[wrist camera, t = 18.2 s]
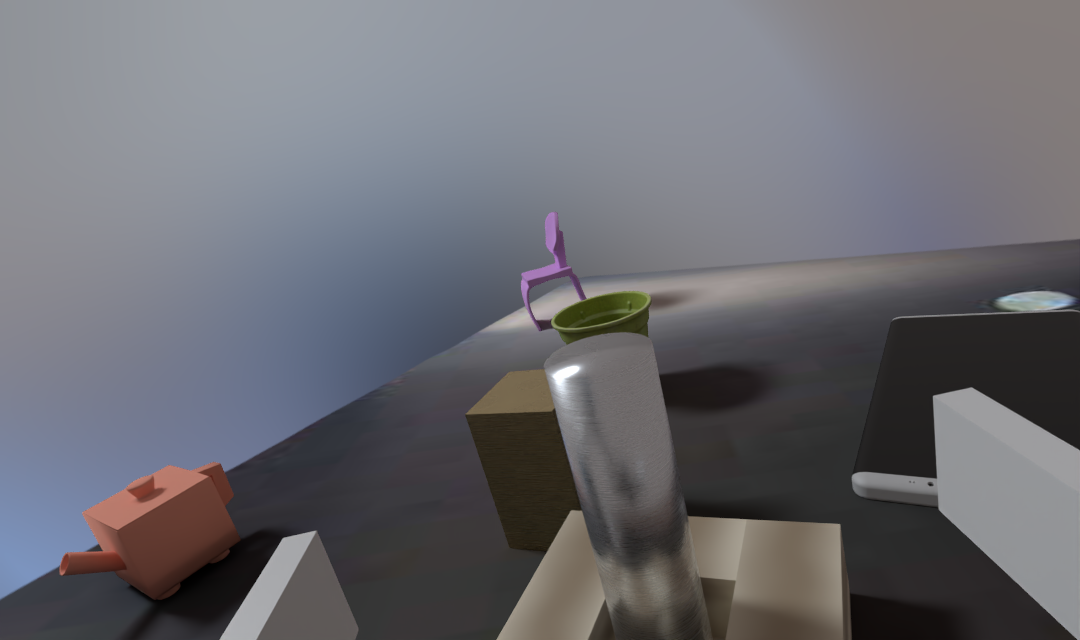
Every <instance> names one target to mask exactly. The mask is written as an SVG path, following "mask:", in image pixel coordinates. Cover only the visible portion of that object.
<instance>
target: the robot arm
mask: <svg viewBox="0 0 1080 640" xmlns="http://www.w3.org/2000/svg"><path fill="white" fill-rule="evenodd" d="M933 408H934V427H935V447H936V466H937V485H938V505H939V510H940V511H941V512H942V513H943V514H944V515H945V516H946V517H947V518H948V519H949V520H950V521H951V522H952V523H953V524H955V525H956V526H957V527H958V528H959V529H960V530H961V531H962V532H963V533H964V534H965V535H966V536H967V537H968V538H970V539H971V540H972V541H973V542H974V543H975V544H976V545H977V546H978V547H979V548H980V549H981V550H982V551H983V552H985V553H986V554H987V555H988V556H989V557H990V558H991V559H992V560H993V561H994V562H995V563H996V564H997V565H998V566H999V567H1001V568H1002V569H1003V570H1004V571H1005V572H1006V573H1007V574H1008V575H1009V576H1010V577H1011V578H1012V579H1013V580H1014V581H1016V582H1017V583H1018V584H1019V585H1020V586H1021V587H1022V588H1023V589H1024V590H1025V591H1026V592H1027V593H1028V594H1029V595H1031V596H1032V597H1033V598H1034V599H1035V600H1036V601H1037V602H1038V603H1039V604H1040V605H1041V606H1042V607H1043V608H1044V609H1046V610H1047V611H1048V612H1049V613H1050V614H1051V615H1052V616H1053V617H1054V618H1055V619H1056V620H1057V621H1058V622H1059V623H1060V624H1062V625H1063V626H1064V627H1065V628H1066V629H1067V630H1068V631H1069V632H1070V633H1071V634H1072V635H1073V636H1074V637H1075V638H1077V639H1078V640H1080V450H1078V449H1077V448H1075V447H1073V446H1071V445H1070V444H1068V443H1066V442H1065V441H1063V440H1061V439H1059V438H1058V437H1056V436H1054V435H1052V434H1051V433H1049V432H1047V431H1046V430H1044V429H1042V428H1040V427H1039V426H1037V425H1035V424H1034V423H1032V422H1030V421H1028V420H1027V419H1025V418H1023V417H1022V416H1020V415H1018V414H1016V413H1015V412H1013V411H1011V410H1010V409H1008V408H1006V407H1004V406H1003V405H1001V404H999V403H998V402H996V401H994V400H992V399H991V398H989V397H987V396H986V395H984V394H982V393H980V392H979V391H977V390H975V389H974V388H972V387H971V388H967V389H962V390H957V391H953V392H948V393H944V394H939V395H935V396H933ZM358 630H359V629H358V626H357V624H356V622H355V619H354V617H353V615H352V612H351V610H350V608H349V605H348V603H347V601H346V598H345V596H344V594H343V591H342V589H341V587H340V584H339V582H338V580H337V577H336V575H335V572H334V570H333V568H332V565H331V563H330V561H329V558H328V556H327V554H326V551H325V549H324V547H323V544H322V542H321V540H320V537H319V535H318V533H317V531H313V532H308V533H304V534H299V535H295V536H290V537H286V538H283V539H282V541H281V543H280V544H279V546H278V547H277V549H276V550H275V552H274V554H273V555H272V557H271V558H270V560H269V562H268V563H267V565H266V566H265V568H264V570H263V571H262V573H261V574H260V576H259V578H258V579H257V581H256V582H255V584H254V586H253V587H252V589H251V590H250V592H249V594H248V595H247V597H246V598H245V600H244V602H243V603H242V605H241V606H240V608H239V610H238V611H237V613H236V614H235V616H234V618H233V619H232V621H231V622H230V624H229V625H228V627H227V629H226V630H225V632H224V633H223V635H222V637H221V638H220V640H355V638H356V635H357V633H358Z"/></svg>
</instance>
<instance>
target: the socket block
mask: <svg viewBox="0 0 1080 640" xmlns="http://www.w3.org/2000/svg"><path fill="white" fill-rule="evenodd" d="M688 520H689V525H690V530H691V535H692V540H693V545H694V550H695V554H696V559H697V564H698V569H699V574H700V579H701V584H702V589H703V594H704V599H705V603H706V608H707V613H708V618H709V623H710V628H711V633H712V638H713V640H852V632H851V609H850V590H849V583H848V576H847V569H846V562H845V555H844V548H843V541H842V534H841V527H840V524H826V523H807V522H787V521H768V520H749V519H729V518H710V517H690V516H688ZM497 640H616V637H615V633H614V629H613V625H612V622H611V618H610V614H609V610H608V607H607V603H606V599H605V595H604V591H603V588H602V584H601V580H600V576H599V573H598V569H597V565H596V561H595V558H594V554H593V550H592V546H591V542H590V539H589V535H588V531H587V527H586V524H585V520H584V516H583V512H582V511H574V510H571V511H570V513H569V515H568V516H567V518H566V520H565V522H564V523H563V525H562V527H561V529H560V530H559V532H558V534H557V536H556V537H555V539H554V541H553V543H552V544H551V546H550V548H549V550H548V551H547V553H546V555H545V556H544V558H543V560H542V562H541V563H540V565H539V567H538V569H537V570H536V572H535V574H534V576H533V577H532V579H531V581H530V583H529V584H528V586H527V588H526V590H525V591H524V593H523V595H522V597H521V598H520V600H519V602H518V603H517V605H516V607H515V609H514V610H513V612H512V614H511V616H510V617H509V619H508V621H507V623H506V624H505V626H504V628H503V630H502V631H501V633H500V635H499V637H498V638H497Z"/></svg>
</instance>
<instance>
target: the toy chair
mask: <svg viewBox="0 0 1080 640" xmlns="http://www.w3.org/2000/svg"><path fill="white" fill-rule="evenodd" d="M545 230H546V246H547V248H548V249H549V251H550V252H552V253H553V254H554V257H555V262H556V263H554V264H552V265H549V266H546V267H543V268H540V269H536V270H531V271H527V272H524V273H521V275H522V278H523V280H522V281H521V290H522V295H523V299H524V303H525V305H526V308H527V310H528V312H529V314H530V316H531V318H532V320H533V322H534V324H535V325H536V327H537V328H538V330H539V331H542V330H541V328H540V326H539V325H538V323H537V321H536V319H535V317H534V315H533V313H532V311H531V308H530V304H529V291H530V289H531V288H532V287H534V286H536V285H538V284H541V283H543V282H546V281H548V280H552V279H555V278H561V277H565V276H569V277H570V279H571V281H572V283H573V285H574V287H575V289H576V291H577V293H578V296H579V298H580V300H581V301H582V300H585V299H586V297H585V295H584V292H583V290H582V288H581V285H580V282H579V280H578V278H577V276H576V275H575V274H573V272H572V268H571V267H570V266H568V265H566V256H565V248H564V240H563V232H562V231H560V230H559V225H558V213H557V212H551V213H550V214H549V215H548V216H547V218H546V221H545Z"/></svg>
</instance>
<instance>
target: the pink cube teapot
mask: <svg viewBox="0 0 1080 640" xmlns="http://www.w3.org/2000/svg"><path fill="white" fill-rule="evenodd" d="M233 496H234V494H233V492H232V489H231V487H230V485H229V482H228V480H227V478H226V475H225V473H224V471H223V468H222V466H221V464H220V463H216V462H213V463H210V464H208V465H205V466H202V467H200V468H197V469H194V470H192V471H190V470H186V469H182V468H178V467H175V466H170V465H168V466H167V467H165V468H163V469H161V470H159V471H158V472H156V473H154V474H152V475H150V476H145V477H142V478H139V479H137V480H135V481H134V482H132V483H131V484H129V485H128V486H127V487H126V489H124V490H123V491H121V492H119V493H117V494H115V495H113V496H111V497H110V498H108V499H106V500H104V501H102V502H101V503H99V504H97V505H95V506H93V507H91V508H89V509H88V510H86V511H84V512H83V516H84V518H85V519H86V521H87V523H88V525H89V526H90V528H91V530H92V532H93V534H94V536H95V537H96V539H97V541H98V543H99V544H100V546H101V548H102V550H103V551H102V552H70V553H65V555H64V556H63V558H62V561H61V564H60V575H61V576H64V575H76V574H87V573H98V572H110V571H115V573H116V575H117V576H118V577H120V578H121V579H123V580H125V581H126V582H128V583H129V584H131V585H132V586H134V587H135V588H137V589H138V590H140V591H141V592H143V593H144V594H146V595H147V596H149V597H151V598H152V599H154V600H156V599H158V600H162V599H165V598H167V597H169V596H171V595H173V594H174V593H175V592H177V591H178V590H179V588H180V586H181V585H180V582H182V581H183V580H185V579H186V578H188V577H189V576H190V575H192V574H193V573H195V572H196V571H198V570H199V569H200V568H202V567H203V566H205V565H206V564H208V563H216V562H218V561H220V560H222V559H224V558H225V557H226V556H227V555H228V554H229V553H230V550H229V548H231V547H232V546H234V545H235V544H236V543H238V542H239V541H241V539H240V537H239V535H238V533H237V531H236V529H235V526H234V524H233V522H232V520H231V518H230V516H229V514H228V512H227V510H226V508H225V506H226V505H227V503H228V502H229V501H230V500H231V499H232V497H233Z"/></svg>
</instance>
